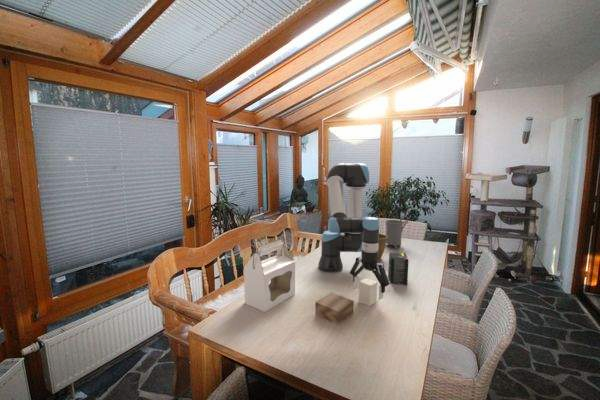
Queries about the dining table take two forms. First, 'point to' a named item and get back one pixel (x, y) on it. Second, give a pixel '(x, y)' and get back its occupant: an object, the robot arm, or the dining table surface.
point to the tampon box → (398, 268)
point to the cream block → (368, 291)
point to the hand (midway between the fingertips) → (368, 293)
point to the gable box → (269, 277)
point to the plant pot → (381, 245)
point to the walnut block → (334, 308)
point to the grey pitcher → (394, 231)
